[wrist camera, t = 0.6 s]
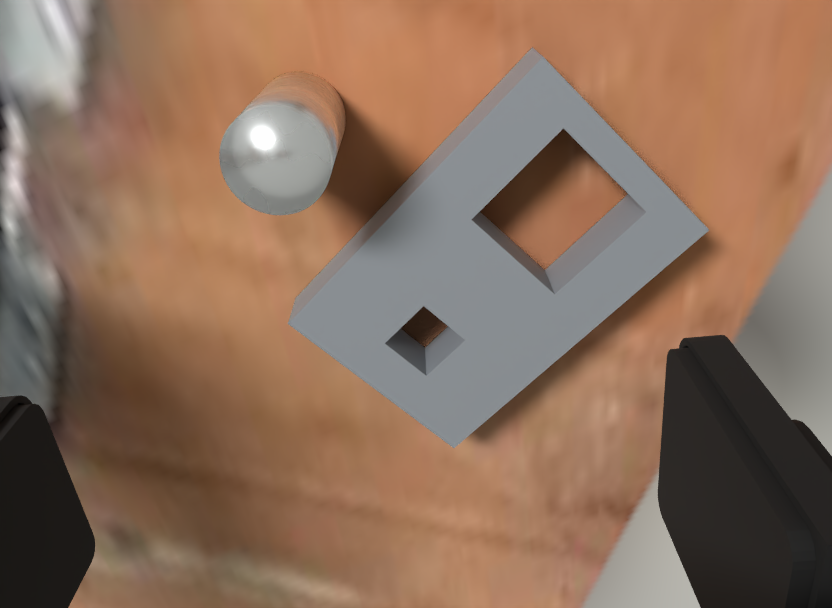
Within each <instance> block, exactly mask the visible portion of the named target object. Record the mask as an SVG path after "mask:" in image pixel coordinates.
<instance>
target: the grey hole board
mask: <svg viewBox="0 0 832 608" xmlns="http://www.w3.org/2000/svg"><path fill="white" fill-rule="evenodd" d="M563 128H564V129H565V130H566V131H567V132H568V133H569V134H570V135H571V136H572V137H573V138H574V140H575V141H576V142H577V143H578V144H579V145H580V146H581V147H582V148H583V149H584V150H585V151H586V152H587V153H588V154H589V155H590V156H591V157H592V158H593V159H594V160H595V161H596V162H597V163H598V164H599V165H600V166H601V167H602V168H603V169H604V170H605V171H606V172H607V173H608V174H609V175H610V176H611V177H612V178H613V179H614V180H615V181H616V182H617V183H618V184H619V185H620V186H621V187H622V188H623V189H624V190H625V191H626V192H627V193H628V195H626V196H625V197H624V198H623V199H622V200H621V201H620V202H619V203H618V204H617V205H616V206H614V207H613V208H612V209H611V210H610V211H609V212H608V213H607V214H606V215H605V216H604V217H602V218H601V219H600V220H599V221H598V222H597V223H596V224H595V225H594V226H593V227H592V228H590V229H589V230H588V231H587V232H586V233H585V234H584V235H583V236H582V237H581V238H580V239H578V240H577V241H576V242H575V243H574V244H573V245H572V246H571V247H570V248H569V249H568V250H566V251H565V252H564V253H563V254H562V255H561V256H560V257H559V258H558V259H557V260H555V261H554V262H553V263H552V264H551V265H550V266H549V267H548V268H547V269H546V270H544V269H543V268H542V267H541V266H539V265H538V264H537V263H536V262H535V261H534V260H533V259H532V258H531V257H529V256H528V255H527V254H526V253H525V252H524V251H523V250H522V249H521V248H520V247H518V246H517V245H516V244H515V243H514V242H513V241H512V240H511V239H510V238H509V237H507V236H506V235H505V234H504V233H503V232H502V231H501V230H500V229H499V228H498V227H496V226H495V225H494V224H493V223H492V222H491V221H490V220H489V219H488V218H486V217H485V216H484V215H483V214H482V213H481V212H480V211H481V210H482V209H483V208H484V207H485V206H486V205H487V204H488V203H489V202H490V201H491V200H492V199H493V198H494V197H495V196H496V195H497V194H498V193H499V192H500V191H501V190H502V189H503V188H504V187H505V186H506V185H507V184H508V183H509V182H510V181H511V180H512V179H513V178H514V177H515V176H516V175H517V174H518V173H519V172H520V171H521V170H522V169H523V168H524V167H525V166H526V165H527V164H528V163H529V162H530V161H531V160H532V159H533V158H534V157H535V156H536V155H537V154H538V153H539V152H540V151H541V150H542V149H543V148H544V147H545V146H546V145H547V144H548V143H549V142H550V141H551V140H552V139H553V138H554V137H555V136H556V135H557V134H558V133H559V132H560V131H561V130H562V129H563ZM708 231H709V229H708V228H707V227H706V226H705V225H704V224H703V223H702V222H701V221H700V220H699V219H698V218H697V217H696V216H695V215H694V214H693V213H692V212H691V210H690V209H689V208H688V207H687V206H686V205H685V204H684V203H683V202H682V201H681V200H680V199H679V198H678V197H677V196H676V195H675V194H674V193H673V192H672V191H671V190H670V189H669V188H668V186H667V185H666V184H665V183H664V182H663V181H662V180H661V179H660V178H659V177H658V176H657V175H656V174H655V173H654V172H653V171H652V170H651V169H650V168H649V167H648V166H647V165H646V164H645V163H644V161H643V160H642V159H641V158H640V157H639V156H638V155H637V154H636V153H635V152H634V151H633V150H632V149H631V148H630V147H629V146H628V145H627V144H626V143H625V142H624V141H623V140H622V139H621V137H620V136H619V135H618V134H617V133H616V132H615V131H614V130H613V129H612V128H611V127H610V126H609V125H608V124H607V123H606V122H605V121H604V120H603V119H602V118H601V117H600V116H599V115H598V114H597V112H596V111H595V110H594V109H593V108H592V107H591V106H590V105H589V104H588V103H587V102H586V101H585V100H584V99H583V98H582V97H581V96H580V95H579V94H578V93H577V92H576V91H575V90H574V89H573V87H572V86H571V85H570V84H569V83H568V82H567V81H566V80H565V79H564V78H563V77H562V76H561V75H560V74H559V73H558V72H557V71H556V70H555V69H554V68H553V67H552V66H551V65H550V63H549V62H548V61H547V60H546V59H545V58H544V57H543V56H542V55H540V54H539V53H538V52H537V51H536V50H535V49H534V48H533V47H532V48H531V49H530V50H529V51H528V52H527V54H526V55H525V56H524V57H523V58H522V59H521V60H520V61H519V62H518V63H517V64H516V65H515V66H514V67H513V68H512V69H511V71H510V72H509V73H508V74H507V75H506V76H505V77H504V78H503V79H502V80H501V81H500V82H499V83H498V84H497V85H496V86H495V87H494V89H493V90H492V91H491V92H490V93H489V94H488V95H487V96H486V97H485V98H484V99H483V100H482V101H481V102H480V103H479V104H478V105H477V107H476V108H475V109H474V110H473V111H472V112H471V113H470V114H469V115H468V116H467V117H466V118H465V119H464V120H463V121H462V122H461V123H460V125H459V126H458V127H457V128H456V129H455V130H454V131H453V132H452V133H451V134H450V135H449V136H448V137H447V138H446V139H445V140H444V141H443V143H442V144H441V145H440V146H439V147H438V148H437V149H436V150H435V151H434V152H433V153H432V154H431V155H430V156H429V157H428V158H427V159H426V161H425V162H424V163H423V164H422V165H421V166H420V167H419V168H418V169H417V170H416V171H415V172H414V173H413V174H412V175H411V176H410V177H409V179H408V180H407V181H406V182H405V183H404V184H403V185H402V186H401V187H400V188H399V189H398V190H397V191H396V192H395V193H394V194H393V195H392V197H391V198H390V199H389V200H388V201H387V202H386V203H385V204H384V205H383V206H382V207H381V208H380V209H379V210H378V211H377V212H376V213H375V215H374V216H373V217H372V218H371V219H370V220H369V221H368V222H367V223H366V224H365V225H364V226H363V227H362V228H361V229H360V230H359V231H358V233H357V234H356V235H355V236H354V237H353V238H352V239H351V240H350V241H349V242H348V243H347V244H346V245H345V246H344V247H343V248H342V250H341V251H340V252H339V253H338V254H337V255H336V256H335V257H334V258H333V259H332V260H331V261H330V262H329V263H328V264H327V265H326V266H325V268H324V269H323V270H322V271H321V272H320V273H319V274H318V275H317V276H316V277H315V278H314V279H313V280H312V281H311V282H310V283H309V284H308V286H307V287H306V288H305V289H304V290H303V291H302V292H301V293H300V294H299V295H298V296H297V297H296V299H295V302H294V305H293V309H292V312H291V315H290V318H289V322H288V324H289V325H290V326H292V327H293V328H294V329H296V330H297V331H298V332H300V333H301V334H302V335H304V336H305V337H306V338H308V339H309V340H310V341H312V342H313V343H314V344H316V345H317V346H318V347H320V348H321V349H322V350H324V351H325V352H326V353H328V354H329V355H330V356H332V357H333V358H334V359H336V360H337V361H338V362H340V363H341V364H342V365H344V366H345V367H346V368H348V369H349V370H350V371H352V372H353V373H354V374H356V375H357V376H358V377H360V378H361V379H362V380H364V381H365V382H366V383H368V384H369V385H370V386H372V387H373V388H374V389H376V390H377V391H378V392H380V393H381V394H382V395H384V396H385V397H386V398H388V399H389V400H390V401H392V402H393V403H394V404H396V405H397V406H398V407H400V408H401V409H402V410H404V411H405V412H406V413H408V414H409V415H410V416H412V417H413V418H414V419H416V420H417V421H418V422H420V423H421V424H422V425H424V426H425V427H426V428H428V429H429V430H430V431H432V432H433V433H434V434H436V435H437V436H438V437H440V438H441V439H442V440H444V441H445V442H446V443H448V444H449V445H450V446H452V447H453V448H455V447H456V446H457V445H458V444H460V443H461V442H462V441H463V440H464V439H465V438H467V437H468V436H469V435H470V434H471V433H472V432H474V431H475V430H476V429H477V428H478V427H479V426H481V425H482V424H483V423H484V422H485V421H486V420H488V419H489V418H490V417H491V416H492V415H493V414H495V413H496V412H497V411H498V410H499V409H501V408H502V407H503V406H504V405H505V404H506V403H508V402H509V401H510V400H511V399H512V398H513V397H515V396H516V395H517V394H518V393H519V392H520V391H522V390H523V389H524V388H525V387H526V386H527V385H529V384H530V383H531V382H532V381H533V380H534V379H536V378H537V377H538V376H539V375H540V374H541V373H543V372H544V371H545V370H546V369H547V368H548V367H550V366H551V365H552V364H553V363H554V362H556V361H557V360H558V359H559V358H560V357H561V356H563V355H564V354H565V353H566V352H567V351H568V350H570V349H571V348H572V347H573V346H574V345H575V344H577V343H578V342H579V341H580V340H581V339H582V338H584V337H585V336H586V335H587V334H588V333H589V332H591V331H592V330H593V329H594V328H595V327H596V326H598V325H599V324H600V323H601V322H602V321H603V320H605V319H606V318H607V317H608V316H609V315H611V314H612V313H613V312H614V311H615V310H616V309H618V308H619V307H620V306H621V305H622V304H623V303H625V302H626V301H627V300H628V299H629V298H630V297H632V296H633V295H634V294H635V293H636V292H637V291H639V290H640V289H641V288H642V287H643V286H644V285H646V284H647V283H648V282H649V281H650V280H651V279H653V278H654V277H655V276H656V275H657V274H659V273H660V272H661V271H662V270H663V269H664V268H666V267H667V266H668V265H669V264H670V263H671V262H673V261H674V260H675V259H676V258H677V257H678V256H680V255H681V254H682V253H683V252H684V251H685V250H687V249H688V248H689V247H690V246H691V245H692V244H694V243H695V242H696V241H697V240H698V239H699V238H701V237H702V236H703V235H704V234H705V233H706V232H708ZM423 306H424V307H425V308H427V309H428V310H429V311H430V312H431V313H433V314H434V315H435V316H436V317H438V318H439V319H440V320H441V321H442V322H444V323H445V324H446V325H447V326H448V327H447V328H446V329H445V330H443V331H442V332H441V333H440V334H439V335H438V336H437V337H436V338H435V339H434V340H433V341H432V342H431V343H430V344H429V345H427V346H426V347H423V346H422V345H421V344H420V343H418V342H417V341H416V340H415V339H413V338H412V337H411V336H410V335H408V334H407V333H406V332H405V331H403V330H402V329H401V327H402V326H403V325H405V324H406V323H407V322H408V321H409V320H410V319H411V318H412V317H413V316H414V315H415V314H416V313H417V312H418V311H419V310H420V309H421V308H422V307H423Z"/></svg>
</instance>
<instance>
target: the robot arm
mask: <svg viewBox="0 0 832 608" xmlns="http://www.w3.org/2000/svg"><path fill="white" fill-rule="evenodd" d="M658 501H659V507H660V511H661V515H662V518H663V520H664V522H665V524H666V527H667V529H668V532H669V534H670V536H671V539H672V541H673V543H674V546H675V548H676V551H677V553H678V555H679V557H680V560H681V562H682V565H683V567H684V569H685V571H686V574H687V576H688V579H689V581H690V583H691V586H692V588H693V590H694V593H695V595H696V597H697V600H698V602H699V604H700V607H701V608H832V456H831V455H830V454H829V452H828V451H827V450H826V449H825V447H824V446H823V445H822V444H821V442H820V441H819V440H818V439H817V437H816V436H815V435H814V434H813V432H812V431H811V430H810V429H809V428H808V427H807V426H806V425H805V424H804V423H803V422H801V421H798V420H791V419H790V417H789V416H788V415H787V414H786V412H785V411H784V410H783V408H782V407H781V406H780V405H779V403H778V402H777V401H776V399H775V398H774V397H773V396H772V394H771V393H770V392H769V390H768V389H767V388H766V387H765V386H764V384H763V383H762V382H761V380H760V379H759V378H758V376H757V375H756V374H755V373H754V371H753V370H752V369H751V367H750V366H749V365H748V363H747V362H746V361H745V360H744V358H743V357H742V356H741V354H740V353H739V352H738V351H737V349H736V348H735V347H734V345H733V344H732V343H731V342H730V340H729V339H728V338H727V337H726V336H725V335H715V336H704V337H692V338H684V339H683V340H682V341H681V343H680V346H679V349H670V350H669V352H668V355H667V364H666V379H665V393H664V408H663V423H662V438H661V452H660V467H659V482H658ZM94 552H95V539H94V535H93V532H92V530H91V527H90V525H89V522H88V520H87V517H86V515H85V512H84V510H83V507H82V505H81V503H80V500H79V498H78V495H77V493H76V490H75V488H74V485H73V483H72V480H71V478H70V475H69V473H68V470H67V468H66V465H65V463H64V460H63V458H62V455H61V453H60V451H59V448H58V446H57V443H56V441H55V438H54V436H53V433H52V431H51V428H50V426H49V423H48V421H47V418H46V416H45V413H44V411H43V410H42V408H41V407H40V406H39V405H36V404H32V403H31V401H30V400H29V399H28V398H27V397H24V396H10V397H0V608H68V607H69V605H70V603H71V601H72V599H73V597H74V595H75V593H76V591H77V589H78V587H79V585H80V583H81V581H82V580H83V578H84V576H85V574H86V572H87V570H88V568H89V566H90V564H91V562H92V559H93V557H94Z"/></svg>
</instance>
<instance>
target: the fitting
mask: <svg viewBox="0 0 832 608" xmlns="http://www.w3.org/2000/svg"><path fill="white" fill-rule="evenodd" d="M345 125H346V113H345V108H344V104H343V102H342V99H341V97H340V96H339V94H338V92H337V91H336V90H335V88H334V87H333V86H332V85H331V84H330V83H328V82H327V81H326V80H325V79H323V78H321V77H320V76H317V75H315V74H312V73H309V72H303V71H294V72H288V73H284V74H282V75H279V76H278V77H276V78H274V79H273V80H272V81H270V82H269V83H268V84H267V86H266V87H265V88H264V89H263V90H262V91H261V92H260V93H259V94H258V95H257V96H256V97H255V99H254V100H253V101H252V102H251V103H250V104H249V105H248V106H247V107H246V108H245V109H244V110H243V112H242V113H241V114H240V115H239V116H238V117H237V118H236V119H235V120H234V121H233V122H232V123H231V125H230V126H229V127H228V129H227V130H226V132H225V134H224V136H223V139H222V142H221V146H220V155H219V159H220V167H221V171H222V174H223V177H224V179H225V181H226V183H227V185H228V186H229V188H230V189H231V191H232V192H233V193H234V194H235V196H236V197H237V198H239V199H240V200H241V201H242V202H243V203H245V204H246V205H247V206H249V207H251V208H253V209H255V210H257V211H260V212H263V213H266V214H272V215H289V214H293V213H297V212H300V211H302V210H304V209H306V208H308V207H309V206H311V205H312V204H313V203H315V202H316V201H317V200H318V199H319V198H320V196H321V195H322V194H323V192H324V190H325V189H326V187H327V184H328V182H329V179H330V176H331V172H332V169H333V166H334V163H335V159H336V156H337V153H338V150H339V147H340V143H341V140H342V137H343V134H344V130H345Z"/></svg>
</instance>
